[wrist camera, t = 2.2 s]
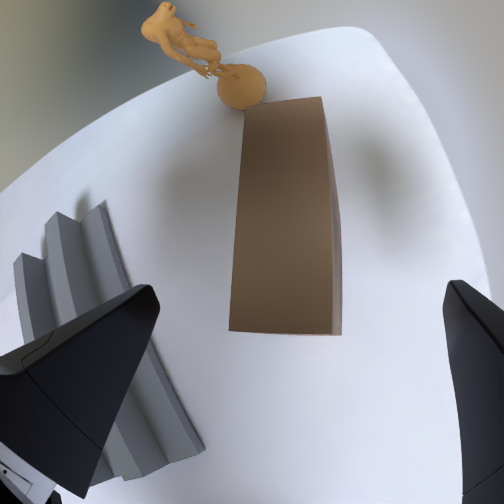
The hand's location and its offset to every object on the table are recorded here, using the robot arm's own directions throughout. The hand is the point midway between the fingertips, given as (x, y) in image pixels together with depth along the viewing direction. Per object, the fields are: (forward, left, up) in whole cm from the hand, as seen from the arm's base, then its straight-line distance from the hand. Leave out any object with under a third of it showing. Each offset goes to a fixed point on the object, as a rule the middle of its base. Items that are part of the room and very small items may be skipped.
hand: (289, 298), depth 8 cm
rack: (+1, +19, -10) cm, 22 cm away
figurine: (+18, +1, -10) cm, 21 cm away
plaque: (+2, -1, -10) cm, 10 cm away
